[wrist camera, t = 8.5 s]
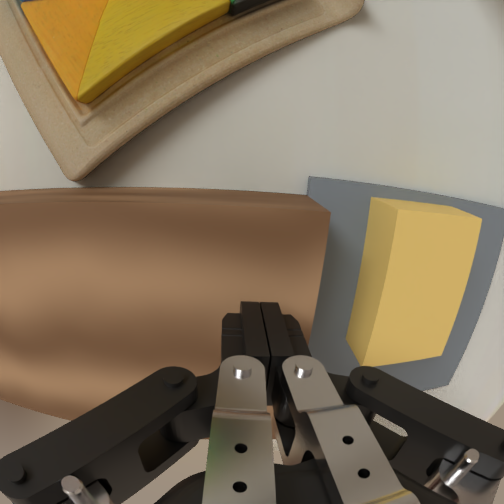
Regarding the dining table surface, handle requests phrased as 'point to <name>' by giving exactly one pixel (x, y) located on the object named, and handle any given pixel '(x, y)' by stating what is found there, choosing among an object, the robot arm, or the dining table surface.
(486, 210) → the slate mat
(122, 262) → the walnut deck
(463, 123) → the dining table surface
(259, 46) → the wooden puzzle
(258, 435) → the robot arm
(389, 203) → the ochre tile
